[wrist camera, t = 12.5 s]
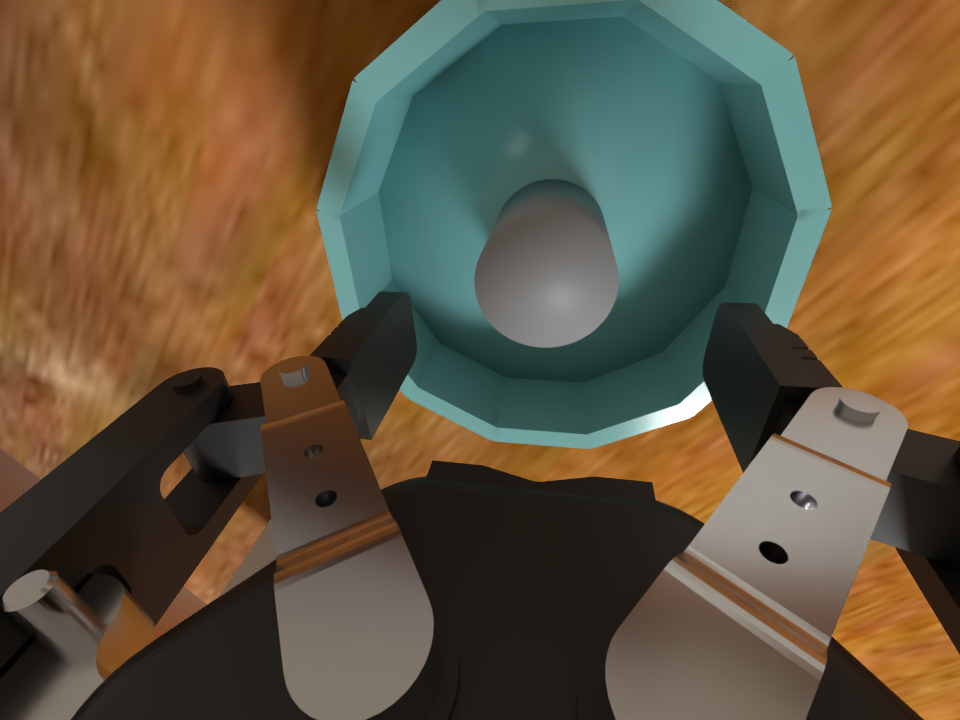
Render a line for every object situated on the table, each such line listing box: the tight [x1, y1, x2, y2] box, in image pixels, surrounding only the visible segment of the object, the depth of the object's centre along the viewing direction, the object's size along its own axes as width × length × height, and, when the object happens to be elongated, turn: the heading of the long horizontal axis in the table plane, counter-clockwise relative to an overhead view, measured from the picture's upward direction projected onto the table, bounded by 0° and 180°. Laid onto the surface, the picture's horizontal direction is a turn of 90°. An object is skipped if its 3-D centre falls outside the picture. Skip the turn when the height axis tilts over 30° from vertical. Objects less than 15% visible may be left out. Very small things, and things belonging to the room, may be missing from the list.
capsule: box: [474, 179, 619, 348], centre depth 16 cm, size 4×4×5 cm
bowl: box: [316, 0, 832, 449], centre depth 17 cm, size 16×16×4 cm
